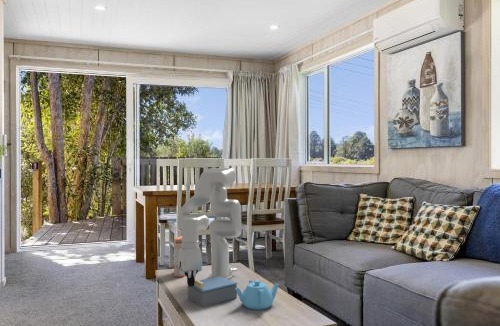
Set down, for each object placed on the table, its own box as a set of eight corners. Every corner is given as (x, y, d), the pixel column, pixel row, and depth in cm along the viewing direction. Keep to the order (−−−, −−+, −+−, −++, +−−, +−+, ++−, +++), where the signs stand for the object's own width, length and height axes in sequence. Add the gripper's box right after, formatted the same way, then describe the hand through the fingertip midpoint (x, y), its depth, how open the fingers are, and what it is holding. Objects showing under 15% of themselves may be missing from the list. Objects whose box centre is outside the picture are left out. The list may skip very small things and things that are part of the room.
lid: (220, 277, 204) (220, 270, 204) (236, 284, 192) (236, 277, 192) (187, 284, 193) (187, 277, 193) (203, 292, 181) (202, 285, 181)
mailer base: (220, 290, 204) (220, 278, 204) (236, 298, 192) (236, 285, 192) (187, 298, 193) (187, 285, 193) (203, 306, 182) (202, 293, 182)
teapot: (233, 307, 180) (232, 283, 180) (250, 297, 193) (249, 274, 193) (264, 313, 173) (264, 288, 172) (280, 302, 186) (279, 278, 186)
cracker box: (184, 277, 227) (183, 239, 227) (173, 276, 229) (173, 239, 228) (192, 270, 241) (192, 234, 241) (182, 270, 242) (182, 234, 242)
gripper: (200, 241, 193) (201, 280, 193) (171, 245, 184) (172, 287, 185) (209, 243, 187) (209, 284, 187) (178, 248, 178) (179, 291, 179)
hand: (191, 285), depth 186 cm, fingers closed
